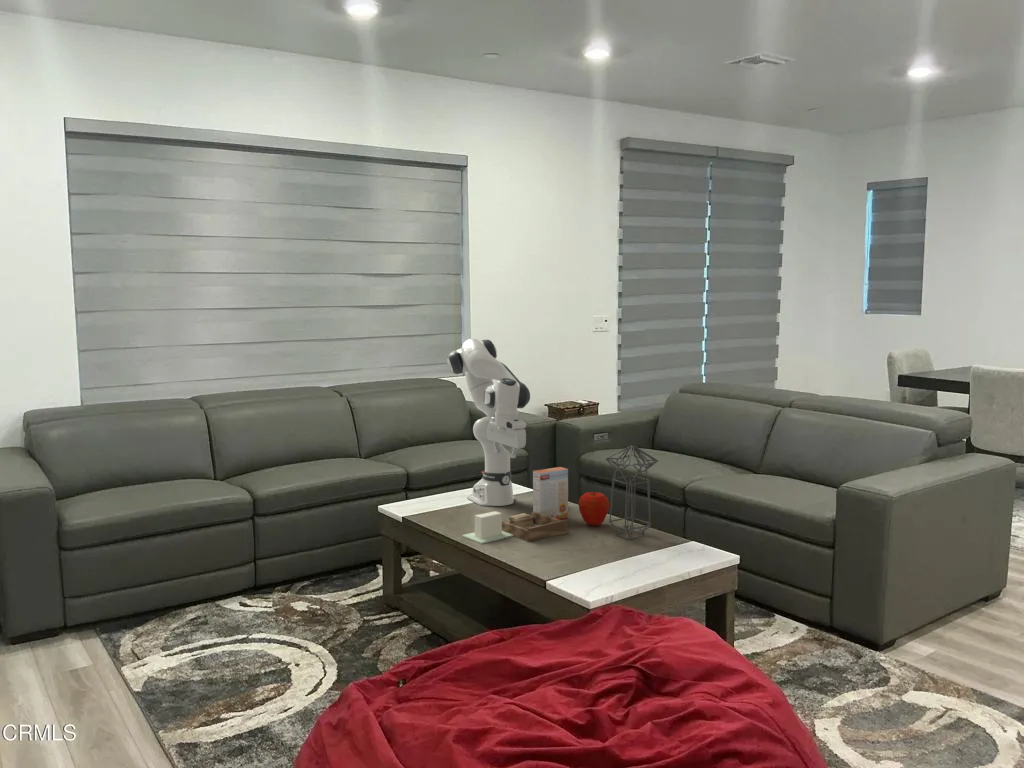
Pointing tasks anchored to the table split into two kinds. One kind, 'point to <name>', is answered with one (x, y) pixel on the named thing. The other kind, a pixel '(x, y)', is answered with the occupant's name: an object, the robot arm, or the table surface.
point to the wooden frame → (538, 528)
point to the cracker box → (551, 492)
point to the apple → (593, 507)
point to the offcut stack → (522, 520)
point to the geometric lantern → (637, 450)
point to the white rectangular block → (488, 524)
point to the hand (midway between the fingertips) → (505, 455)
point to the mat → (487, 539)
